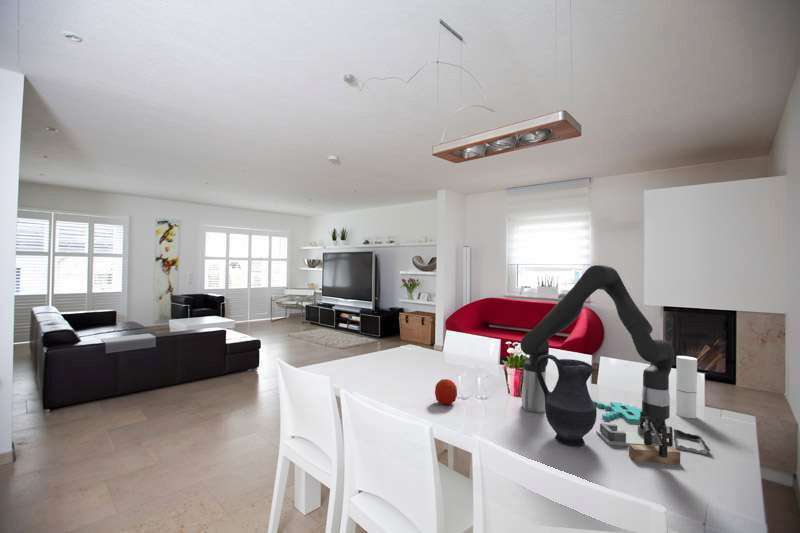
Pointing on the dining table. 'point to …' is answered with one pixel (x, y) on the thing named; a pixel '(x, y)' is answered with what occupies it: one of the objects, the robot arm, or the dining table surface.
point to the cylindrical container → (686, 386)
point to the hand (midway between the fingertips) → (655, 450)
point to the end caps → (620, 433)
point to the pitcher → (569, 400)
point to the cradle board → (627, 439)
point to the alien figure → (620, 412)
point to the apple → (445, 392)
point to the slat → (653, 454)
